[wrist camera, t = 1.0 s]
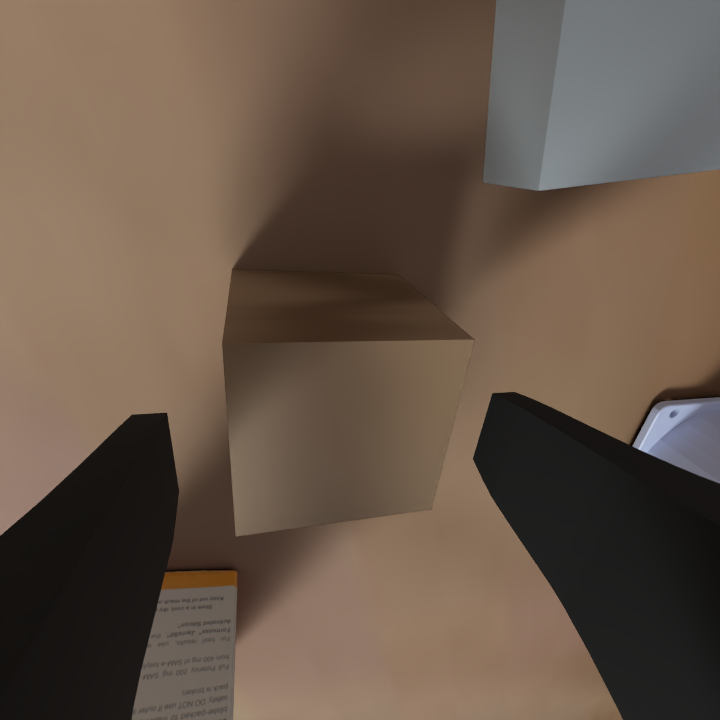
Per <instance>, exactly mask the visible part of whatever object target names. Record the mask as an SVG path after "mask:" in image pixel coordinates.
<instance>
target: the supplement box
mask: <svg viewBox="0 0 720 720" xmlns="http://www.w3.org/2000/svg"><path fill="white" fill-rule="evenodd" d="M236 608H237V572H236V571H232V570H229V571H217V570H214V571H206V570H201V571H176V572H165V576H164V580H163V584H162V588H161V592H160V596H159V600H158V604H157V608H156V612H155V616H154V620H153V625H152V629H151V633H150V637H149V641H148V645H147V649H146V653H145V657H144V661H143V665H142V669H141V674H140V678H139V683H138V688H137V693H136V698H135V702H134V708H133V714H132V720H233V706H234V673H235V641H236Z"/></svg>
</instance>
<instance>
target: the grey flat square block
mask: <svg viewBox="0 0 720 720" xmlns="http://www.w3.org/2000/svg"><path fill="white" fill-rule="evenodd" d="M718 169H720V0H496V12H495V26H494V39H493V53H492V66H491V79H490V93H489V106H488V119H487V133H486V146H485V159H484V173H483V183H489V184H496V185H503V186H509V187H516V188H523V189H529V190H536V191H542V190H550V189H558V188H567V187H575V186H584V185H592V184H601V183H609V182H617V181H626V180H634V179H643V178H651V177H659V176H668V175H676V174H685V173H693V172H702V171H710V170H718Z"/></svg>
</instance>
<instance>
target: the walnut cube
mask: <svg viewBox="0 0 720 720" xmlns="http://www.w3.org/2000/svg"><path fill="white" fill-rule="evenodd" d="M474 340H475V339H473V338H472V337H471V336H470V335H469V334H467V333H466V332H465V331H464V330H463V329H462V328H460V327H459V326H458V325H457V324H456V323H455V322H453V321H452V320H451V319H450V318H449V317H448V316H446V315H445V314H444V313H443V312H442V311H440V310H439V309H438V308H437V307H436V306H435V305H433V304H432V303H431V302H430V301H429V300H428V299H426V298H425V297H424V296H423V295H422V294H420V293H419V292H418V291H417V290H416V289H415V288H413V287H412V286H411V285H410V284H409V283H408V282H406V281H405V280H404V279H403V278H402V277H400V276H399V275H398V274H370V273H338V272H306V271H275V270H243V269H232V275H231V283H230V290H229V297H228V305H227V312H226V319H225V327H224V334H223V342H222V347H223V361H224V376H225V390H226V405H227V419H228V434H229V448H230V462H231V477H232V491H233V506H234V520H235V534H236V536H244V535H251V534H258V533H265V532H272V531H280V530H287V529H294V528H301V527H309V526H316V525H323V524H330V523H337V522H345V521H352V520H359V519H366V518H374V517H381V516H388V515H395V514H403V513H410V512H417V511H424V510H431V509H432V506H433V502H434V498H435V494H436V490H437V486H438V482H439V478H440V474H441V470H442V466H443V462H444V458H445V454H446V450H447V447H448V443H449V439H450V435H451V431H452V427H453V423H454V419H455V415H456V411H457V407H458V403H459V399H460V395H461V391H462V388H463V384H464V380H465V376H466V372H467V368H468V364H469V360H470V356H471V352H472V348H473V344H474Z"/></svg>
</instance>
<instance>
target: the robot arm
mask: <svg viewBox="0 0 720 720" xmlns="http://www.w3.org/2000/svg"><path fill="white" fill-rule="evenodd" d="M473 460H474V462H475V464H476V466H477V469H478V471H479V473H480V475H481V477H482V479H483V481H484V483H485V485H486V487H487V489H488V491H489V493H490V495H491V497H492V498H493V500H494V501H495V503H496V504H497V506H498V507H499V509H500V510H501V512H502V514H503V515H504V517H505V518H506V520H507V521H508V523H509V524H510V526H511V527H512V529H513V530H514V532H515V533H516V535H517V536H518V538H519V539H520V540H521V542H522V543H523V545H524V546H525V548H526V549H527V551H528V552H529V554H530V555H531V557H532V558H533V560H534V561H535V563H536V564H537V566H538V567H539V569H540V570H541V572H542V573H543V575H544V576H545V578H546V579H547V580H548V582H549V584H550V585H551V587H552V588H553V590H554V592H555V593H556V595H557V596H558V598H559V600H560V601H561V603H562V604H563V606H564V608H565V610H566V612H567V613H568V615H569V617H570V619H571V621H572V622H573V624H574V626H575V628H576V630H577V632H578V633H579V635H580V637H581V639H582V641H583V642H584V644H585V646H586V648H587V650H588V651H589V653H590V655H591V657H592V659H593V661H594V663H595V665H596V667H597V669H598V671H599V673H600V675H601V677H602V679H603V681H604V683H605V684H606V686H607V688H608V690H609V692H610V694H611V696H612V698H613V700H614V702H615V704H616V706H617V708H618V710H619V712H620V714H621V716H622V718H623V720H720V397H715V398H701V399H687V400H673V401H663V402H659V403H658V404H656V405H655V406H654V407H653V408H652V410H651V411H650V413H649V415H648V417H647V419H646V421H645V423H644V425H643V427H642V429H641V430H640V432H639V434H638V436H637V438H636V440H635V442H634V444H633V446H630V445H628V444H626V443H624V442H622V441H620V440H618V439H615V438H613V437H611V436H609V435H607V434H605V433H603V432H601V431H599V430H597V429H595V428H592V427H590V426H588V425H586V424H584V423H582V422H580V421H578V420H576V419H574V418H572V417H570V416H568V415H566V414H564V413H562V412H560V411H557V410H555V409H553V408H551V407H549V406H547V405H545V404H542V403H540V402H538V401H536V400H533V399H531V398H529V397H526V396H524V395H521V394H518V393H516V392H507V393H492V397H491V400H490V403H489V407H488V410H487V413H486V417H485V420H484V424H483V427H482V430H481V434H480V437H479V440H478V444H477V447H476V450H475V454H474V457H473ZM178 495H179V488H178V482H177V475H176V468H175V462H174V455H173V449H172V442H171V436H170V429H169V423H168V416H167V413H155V414H138V415H131V416H130V417H129V418H128V419H127V420H126V421H125V422H124V423H123V424H122V425H120V426H119V427H118V428H117V429H116V430H115V431H114V432H113V433H112V434H111V435H110V436H109V437H108V438H107V439H106V440H105V441H104V442H103V443H102V444H101V445H100V446H99V447H98V448H97V449H96V450H95V451H94V452H93V453H91V454H90V455H89V456H88V457H87V458H86V459H85V460H84V461H83V462H82V463H81V464H80V465H79V466H78V467H77V468H76V469H75V470H74V471H73V472H72V473H70V474H69V475H68V476H67V477H66V478H65V479H64V480H63V481H62V482H61V483H60V484H59V485H58V486H56V487H55V488H54V489H53V490H52V491H51V492H50V493H49V494H48V495H47V496H46V497H45V498H44V499H42V500H41V501H40V502H39V503H38V504H37V505H36V506H35V507H33V508H32V509H31V510H30V511H29V512H28V513H26V514H25V515H24V516H23V517H22V518H21V519H19V520H18V521H17V522H16V523H15V524H14V525H12V526H11V527H10V528H9V529H8V530H7V531H5V532H4V533H3V534H2V535H1V536H0V720H132V714H133V708H134V702H135V698H136V693H137V688H138V683H139V678H140V674H141V669H142V665H143V661H144V657H145V653H146V649H147V645H148V641H149V637H150V633H151V629H152V625H153V620H154V616H155V612H156V608H157V604H158V600H159V596H160V592H161V588H162V584H163V580H164V576H165V572H166V567H167V563H168V559H169V555H170V551H171V546H172V542H173V536H174V528H175V521H176V512H177V503H178Z"/></svg>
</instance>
